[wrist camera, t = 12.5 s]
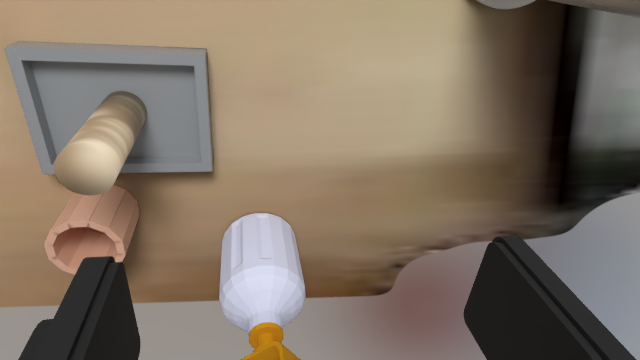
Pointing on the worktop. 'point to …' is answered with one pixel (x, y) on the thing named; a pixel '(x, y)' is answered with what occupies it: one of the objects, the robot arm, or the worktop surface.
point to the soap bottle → (261, 282)
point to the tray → (110, 76)
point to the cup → (93, 228)
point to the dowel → (101, 145)
